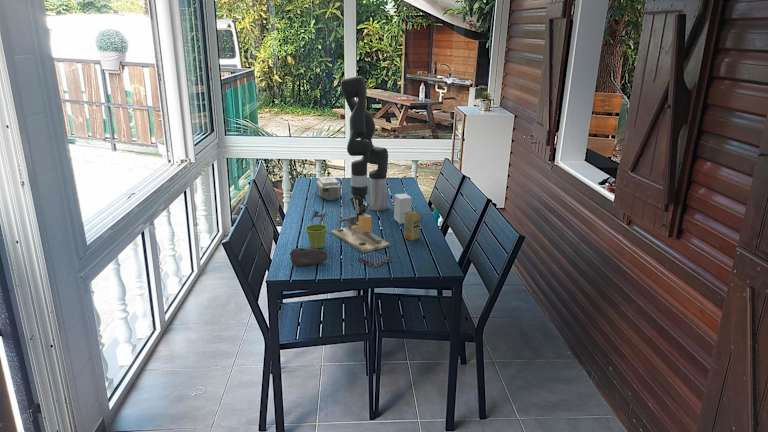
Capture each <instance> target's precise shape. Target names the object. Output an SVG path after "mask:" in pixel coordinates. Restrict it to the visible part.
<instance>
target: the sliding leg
mask: <svg viewBox="0 0 768 432" xmlns="http://www.w3.org/2000/svg"><path fill="white" fill-rule="evenodd" d="M372 221H373V219H372V216H371V215H369V214H367V213H364V214H362V215H360V216H359V225H358V226H353V227H351V229H352V236H354V229H358V228H359V231H361V232H363V233H365V232H372V228H373V227H372Z"/></svg>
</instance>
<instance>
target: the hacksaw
mask: <svg viewBox="0 0 768 432" xmlns="http://www.w3.org/2000/svg"><path fill="white" fill-rule="evenodd" d="M325 215H328V213H326V212H325V213H324V212H323V213H322V214H319V211H318V210H314V212H313V215H312V216H311V218H310V220H309V222H313V221H314V219H315V217H320V218H319V222H318V224H322V225H324V224H323V220H324V217H325Z"/></svg>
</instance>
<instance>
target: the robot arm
mask: <svg viewBox="0 0 768 432" xmlns="http://www.w3.org/2000/svg"><path fill="white" fill-rule="evenodd" d="M340 89H341V92H342V95H343V97H344V100H345V101H346V104H347V106H348V108H349V111H350V113H351V114H350V117H349V138H348V142H347V145H346V150H347V151H346V152H347V154H348V155H349V156H352V157H361V158H360V159H356V160H353V161H352V162H351V166H350V168H351V171H350V172H351V174H350V194H351V195H352V197H351V198H350V199H349V200H350V203H351V206H352V208H353V211H355V213H356V219H357V220H358V221H359V216H360V215H363V213H364V214H366V212H367V210H370V211H374V212H380V211H381V212H382V211H385V210H386V209H388V206H389V202H388V201H389V200H388V199H389V198H388V197H389V196H388V195H389V192H388V190H387V174H388V167H389V166H388V163H389V152H388V149H387V148H385V147H380V146H375V145H374V144H373V142H372V139H373V136H374V134H375V131H376V124H375V120H374V117H373V114H371V113H370V111H369V110H367V109H366V106H367V83H366V81H365V78H364V77H363V76H362V75H357V76H352V77H347V78H344V79H342V80H341V81H340ZM356 98H358V100H356ZM368 164H370V165H376V166H377V167H376V169H373V170H371V171H369V173H368ZM367 195H368V203H367V202H366V201H367V200H366V196H367Z"/></svg>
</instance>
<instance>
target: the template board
mask: <svg viewBox="0 0 768 432" xmlns="http://www.w3.org/2000/svg"><path fill="white" fill-rule="evenodd" d="M356 219H357V215H355V214H352V215H351V214H350V215H347V217H345V218H340V219H339V218H338V228H337V229H332V230H331V234H333V235H334V236H335V237H337V238H339V239H340V240H342V241H343V242H345V243H346V244H348V245H350V246H351V247H352V248H354V249H356V250H358V251H359V252H361V253H362V254H365V253H370V252H374V251H377V250H380V249H384V248H385V249H386V248H389V247H390V246H391V243H390V242H388V241H386V240H384V239H383V238H381V237H379V236H377V235H376V234H374V233H372V232H371V231H369V232H365V233H363V232H361V231H359V228H358V229H354V236H352V229H351V227H353V226H358V225H356ZM342 222H347V225H348V226H346V227H342Z"/></svg>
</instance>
